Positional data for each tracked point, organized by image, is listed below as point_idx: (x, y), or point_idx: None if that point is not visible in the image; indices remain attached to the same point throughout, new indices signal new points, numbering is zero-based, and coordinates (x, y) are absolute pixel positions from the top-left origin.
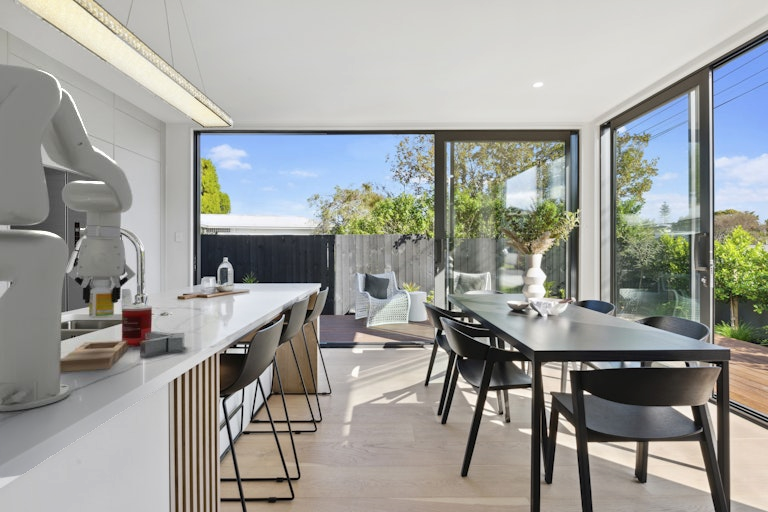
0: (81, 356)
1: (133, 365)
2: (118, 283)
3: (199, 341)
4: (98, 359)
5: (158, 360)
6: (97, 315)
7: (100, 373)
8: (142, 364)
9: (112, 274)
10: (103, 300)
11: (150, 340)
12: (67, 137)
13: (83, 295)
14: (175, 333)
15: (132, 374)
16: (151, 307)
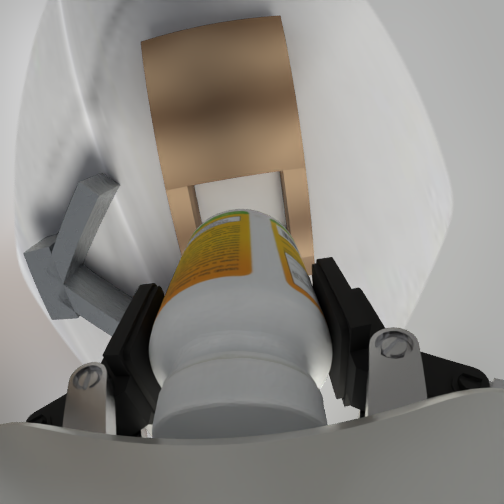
0: (237, 61)
1: (101, 85)
2: (74, 390)
3: (66, 342)
4: (171, 33)
5: (61, 141)
6: (237, 211)
7: (158, 11)
8: (84, 97)
9: (34, 440)
10: (197, 257)
11: (77, 210)
12: None
13: (364, 301)
14: (65, 311)
15: (84, 14)
16: (149, 431)
